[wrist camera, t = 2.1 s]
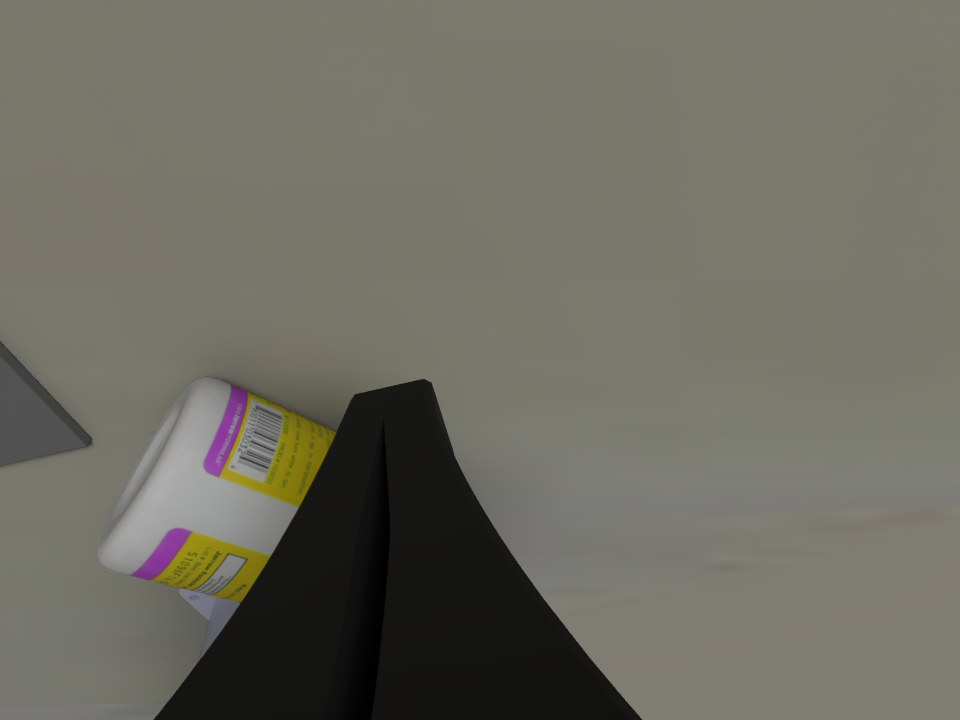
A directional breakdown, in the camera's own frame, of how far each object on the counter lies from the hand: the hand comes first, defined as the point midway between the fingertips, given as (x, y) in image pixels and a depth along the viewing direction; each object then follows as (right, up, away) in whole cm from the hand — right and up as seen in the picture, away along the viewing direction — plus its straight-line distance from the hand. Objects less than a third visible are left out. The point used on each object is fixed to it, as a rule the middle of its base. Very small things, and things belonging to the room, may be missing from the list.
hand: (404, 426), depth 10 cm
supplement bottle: (-10, -2, +8) cm, 13 cm away
